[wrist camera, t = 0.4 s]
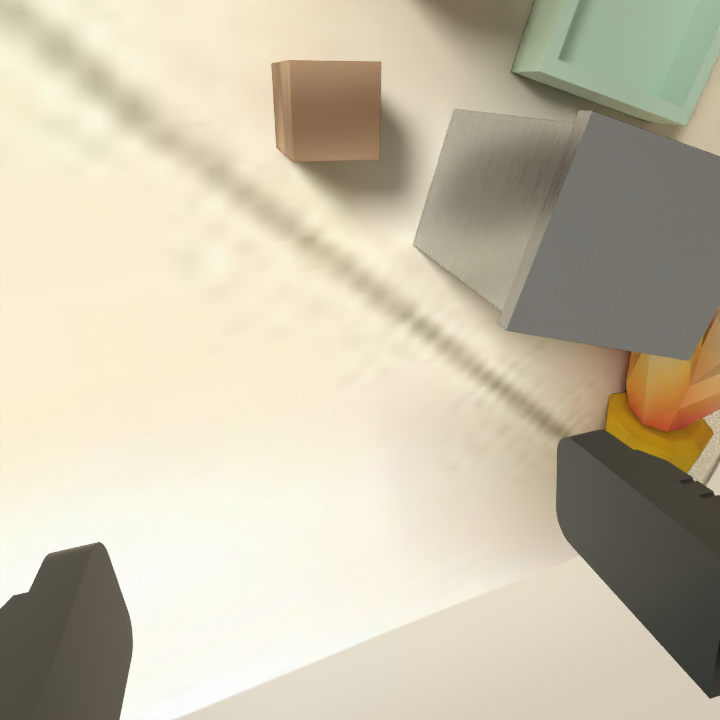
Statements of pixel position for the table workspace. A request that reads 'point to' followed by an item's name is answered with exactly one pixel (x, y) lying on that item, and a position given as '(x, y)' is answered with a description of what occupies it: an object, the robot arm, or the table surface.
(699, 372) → the torch
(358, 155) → the walnut block
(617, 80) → the tray
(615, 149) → the box
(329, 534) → the table surface
